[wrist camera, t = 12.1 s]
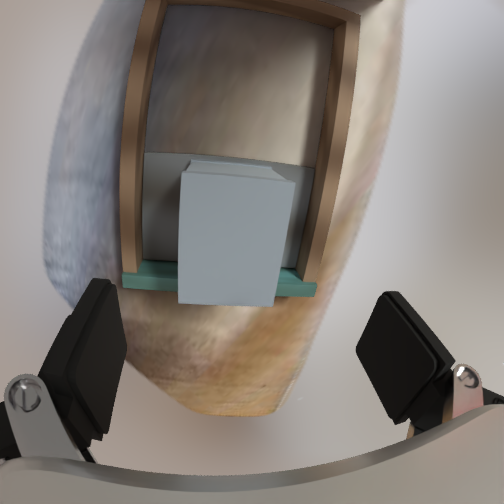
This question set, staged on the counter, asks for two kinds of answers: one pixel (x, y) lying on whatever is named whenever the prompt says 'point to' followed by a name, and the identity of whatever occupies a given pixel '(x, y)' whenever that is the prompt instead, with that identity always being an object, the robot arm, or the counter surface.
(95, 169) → the counter surface
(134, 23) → the counter surface
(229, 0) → the bay
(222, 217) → the grey block
